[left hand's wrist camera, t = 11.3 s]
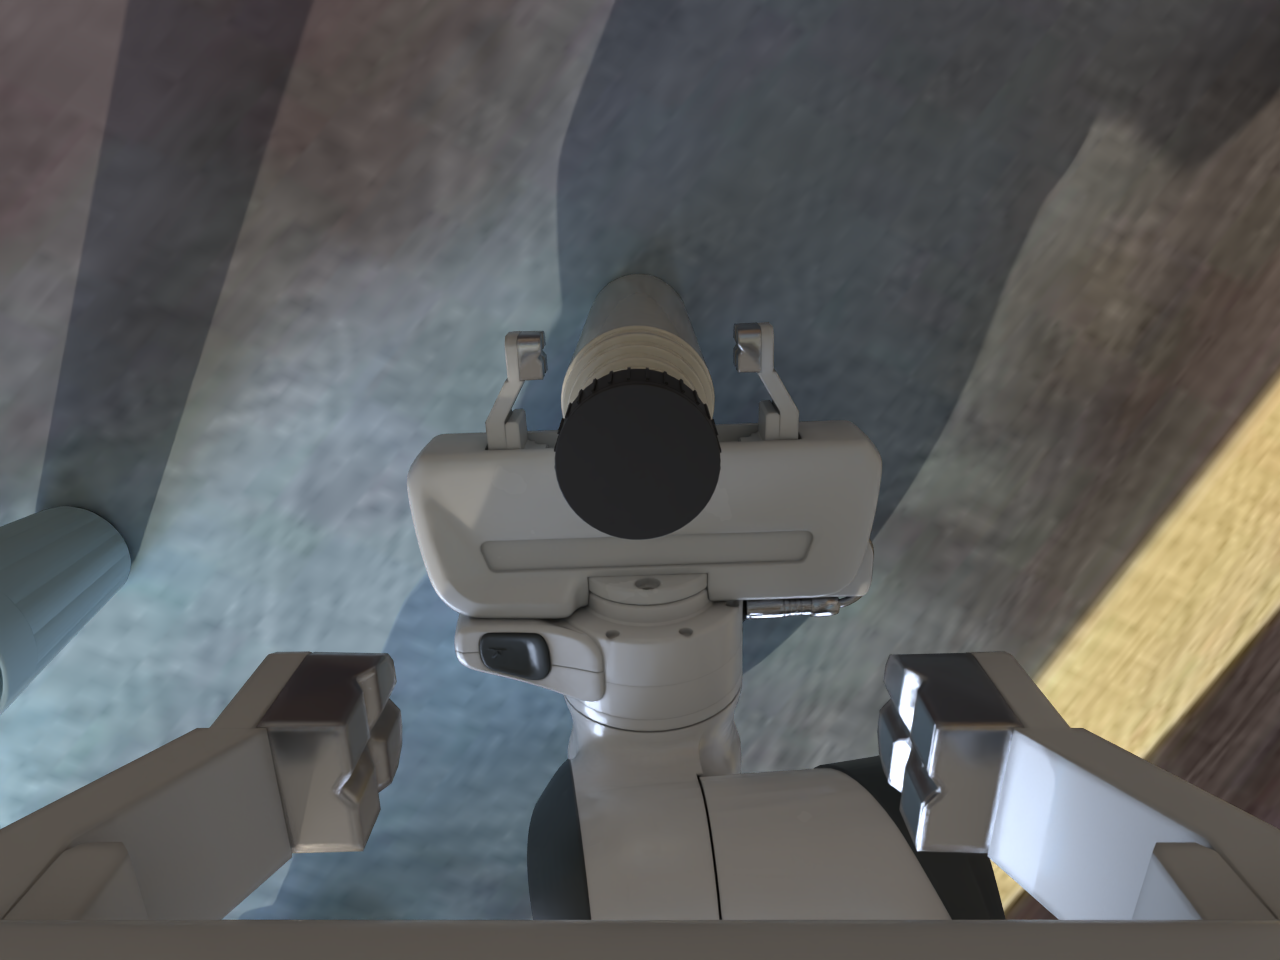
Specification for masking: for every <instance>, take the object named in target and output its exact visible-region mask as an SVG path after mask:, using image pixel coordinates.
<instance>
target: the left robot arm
mask: <svg viewBox="0 0 1280 960" xmlns="http://www.w3.org/2000/svg"><path fill="white" fill-rule="evenodd" d="M396 682H397V680H396V674H395V668H394V662H393V659H392V658H391V657H390V656H389V654H388V653H342V652H313V653H312V652H275V653H272V654H269V655H268V656H267V657H266V658H265V659H264V660H263V661H262V663H261V664H260V665H259V666H258V668H257V669H256V670H255V671H254V673H253V674H252V675H251V676H250V678H249V679H248V680H247V682H246V683H245V684H244V685H243V687H242V688H241V689H240V690H239V692H238V693H237V694H236V695H235V697H234V698H233V699H232V700H231V702H230V703H229V704H228V705H227V707H226V708H225V709H224V710H223V712H222V713H221V714H220V715H219V717H218V718H217V719H216V720H215V722H214V723H213V724H212V725H211V727H210V728H196V729H194V730H193V731H191V732H189V733H187V734H185V735H183V736H181V737H179V738H177V739H175V740H173V741H171V742H169V743H167V744H165V745H163V746H161V747H159V748H158V749H156V750H154V751H152V752H150V753H148V754H146V755H144V756H142V757H140V758H138V759H136V760H134V761H132V762H130V763H128V764H126V765H125V766H123V767H121V768H119V769H117V770H115V771H113V772H111V773H109V774H107V775H105V776H103V777H101V778H99V779H97V780H95V781H93V782H91V783H90V784H88V785H86V786H84V787H82V788H80V789H78V790H76V791H74V792H72V793H70V794H68V795H66V796H64V797H62V798H60V799H58V800H57V801H55V802H53V803H51V804H49V805H47V806H45V807H43V808H41V809H39V810H37V811H35V812H33V813H31V814H29V815H27V816H25V817H24V818H22V819H20V820H18V821H16V822H14V823H12V824H10V825H8V826H6V827H4V828H2V829H0V960H1280V830H1279V829H1277V828H1275V827H1273V826H1271V825H1270V824H1268V823H1266V822H1264V821H1262V820H1260V819H1258V818H1256V817H1254V816H1252V815H1250V814H1248V813H1246V812H1244V811H1242V810H1240V809H1239V808H1237V807H1235V806H1233V805H1231V804H1229V803H1227V802H1225V801H1223V800H1221V799H1219V798H1217V797H1215V796H1213V795H1211V794H1209V793H1208V792H1206V791H1204V790H1202V789H1200V788H1198V787H1196V786H1194V785H1192V784H1190V783H1188V782H1186V781H1184V780H1182V779H1180V778H1178V777H1177V776H1175V775H1173V774H1171V773H1169V772H1167V771H1165V770H1163V769H1161V768H1159V767H1157V766H1155V765H1153V764H1151V763H1149V762H1148V761H1146V760H1144V759H1142V758H1140V757H1138V756H1136V755H1134V754H1132V753H1130V752H1128V751H1126V750H1124V749H1122V748H1120V747H1118V746H1117V745H1115V744H1113V743H1111V742H1109V741H1107V740H1105V739H1103V738H1101V737H1099V736H1097V735H1095V734H1093V733H1091V732H1089V731H1087V730H1086V729H1084V728H1070V727H1069V725H1068V724H1067V723H1066V722H1065V720H1064V719H1063V718H1062V717H1061V715H1060V714H1059V713H1058V712H1057V710H1056V709H1055V708H1054V707H1053V705H1052V704H1051V703H1050V702H1049V700H1048V699H1047V698H1046V697H1045V695H1044V694H1043V693H1042V692H1041V690H1040V689H1039V688H1038V687H1037V685H1036V684H1035V683H1034V682H1033V680H1032V679H1031V678H1030V677H1029V675H1028V674H1027V673H1026V672H1025V671H1024V669H1023V668H1022V667H1021V666H1020V664H1019V663H1018V662H1017V661H1016V659H1015V658H1014V657H1013V656H1012V655H1011V654H1009V653H1007V652H1005V651H995V652H967V653H942V654H897V655H889V658H888V660H887V663H886V666H885V673H884V680H883V682H884V684H885V686H886V688H887V691H888V693H889V695H890V697H891V699H890V700H889V701H888V702H887V703H886V704H885V705H884V706H883V707H882V708H881V709H880V711H879V721H878V731H877V732H878V747H879V755H880V759H881V764H882V768H883V771H884V773H885V776H886V778H887V781H888V783H889V784H890V785H892V786H893V787H894V788H896V789H897V790H898V791H900V792H901V793H902V794H901V801H900V808H899V810H900V812H901V815H902V817H903V819H904V822H905V824H906V826H907V829H908V831H909V833H910V836H911V838H912V841H913V843H914V845H915V848H916V850H917V851H930V852H965V853H988V857H989V858H990V859H991V860H992V861H993V862H994V863H996V864H997V865H998V866H999V867H1000V868H1001V869H1002V870H1003V871H1005V872H1006V873H1007V874H1008V875H1009V876H1010V877H1011V878H1012V879H1014V880H1015V881H1016V882H1017V883H1018V884H1019V885H1020V886H1022V887H1023V888H1024V889H1025V890H1026V891H1027V892H1028V893H1029V894H1031V895H1032V896H1033V897H1034V898H1035V899H1036V900H1037V901H1039V902H1040V903H1041V904H1042V905H1043V906H1044V907H1045V908H1046V909H1048V910H1049V911H1050V912H1051V913H1052V914H1053V915H1054V916H1055V917H1057V918H1058V919H1059V920H221V919H223V918H224V917H225V916H226V915H227V914H228V913H229V912H230V911H232V910H233V909H234V908H235V907H236V906H237V905H238V904H240V903H241V902H242V901H243V900H244V899H245V898H246V897H247V896H249V895H250V894H251V893H252V892H253V891H254V890H255V889H257V888H258V887H259V886H260V885H261V884H262V883H263V882H264V881H266V880H267V879H268V878H269V877H270V876H271V875H272V874H274V873H275V872H276V871H277V870H278V869H279V868H280V867H281V866H283V865H284V864H285V863H286V862H287V861H288V860H289V859H291V858H292V853H314V852H349V851H363V850H364V848H365V845H366V843H367V841H368V838H369V836H370V834H371V831H372V829H373V826H374V824H375V822H376V819H377V817H378V815H379V812H380V810H381V808H380V801H379V794H378V793H379V792H380V791H382V790H383V789H384V788H386V787H387V786H388V785H390V784H391V783H392V781H393V778H394V776H395V773H396V770H397V768H398V764H399V758H400V753H401V747H402V719H401V711H400V709H399V708H398V707H397V706H396V705H395V704H394V703H393V702H392V701H391V700H390V699H389V697H390V695H391V693H392V691H393V688H394V686H395V684H396Z"/></svg>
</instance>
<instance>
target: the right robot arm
mask: <svg viewBox="0 0 1280 960" xmlns="http://www.w3.org/2000/svg"><path fill="white" fill-rule="evenodd" d="M733 338H734V340H735V341H736V345H735V346H734V348H733V363H734V366H735V367H736V370H737V371H738V372H757V373H758V375H759V377H760V379H761V380H762V382H763V384H764V385H765V387H766V389H767V391H768V392H769V394H770V396H771V398H772V402H771V401H770V400H762V401H760V402H759V418H758V423H744V424H715V425H716V429H717V432H718V435H717V437H718V441H719V444H720V447H721V453H720V459H721V464H720V466H721V470H720V474H719V479H718V483H717V486H716V489H715V491H714V493H713V495H712V497H711V499H710V501H709V502H708V504H707V505H706V507H705V508H704V509H703V510H702V511H701V513H700V514H699V515H698V516H697V517H696V518H694V519H693V520H692V521H691V522H690V523H688V524H687V525H685V526H684V527H682V528H681V529H679V530H677V531H675V532H673V533H670V534H668V535H665V536H662V537H658V538H653V539H645V540H630V539H622V538H618V537H614V536H610V535H608V534H605V533H603V532H600V531H598V530H597V529H595V528H593V527H591V526H590V525H588V524H587V523H586V522H584V521H583V520H582V519H581V518H580V517H579V516H578V515H576V513H575V512H574V511H573V510H572V509H571V508H570V506H569V505H568V503H567V502H566V500H565V499H564V497H563V495H562V492H561V490H560V488H559V485H558V482H557V478H556V472H555V468H554V466H555V452H554V447H555V444H556V441H557V438H558V435H559V434H557V433H558V430H543V431H527V424H526V414H525V411H524V410H523V409H514V410H513V411H512V407H513V405H514V403H515V401H516V398H517V396H518V394H519V392H520V390H521V388H522V386H523V384H524V382H525V380H540V379H543V378H544V376H545V373H546V372H547V370H548V368H547V355H546V354H545V352H544V351H543V348H544V347H545V345H546V342H545V334H544V331H514V332H509V333H508V334H507V335H506V336H505V355H506V366H507V376H508V378H507V379H506V381H505V383H504V385H503V387H502V389H501V391H500V393H499V395H498V397H497V399H496V401H495V404H494V406H493V408H492V410H491V412H490V414H489V416H488V418H487V420H486V422H485V423H486V433H458V434H441V435H437V436H436V437H434V438H433V439H432V440H431V441H430V442H429V443H428V444H427V445H426V446H425V447H424V448H423V449H422V450H421V452H420V453H419V454H418V456H417V457H416V459H415V460H414V462H413V463H412V465H411V467H410V469H409V472H408V476H407V489H408V497H409V503H410V509H411V514H412V518H413V523H414V527H415V532H416V536H417V540H418V543H419V547H420V551H421V554H422V557H423V561H424V564H425V567H426V570H427V573H428V576H429V579H430V581H431V583H432V586H433V587H434V589H435V591H436V593H437V594H438V596H439V597H440V598H441V600H442V601H443V602H444V603H445V604H446V605H447V606H449V607H450V608H451V609H453V610H454V611H456V612H458V613H460V614H459V618H458V621H457V626H456V632H455V652H456V656H457V658H458V660H459V661H460V663H461V664H463V665H464V666H466V667H468V668H470V669H473V670H476V671H480V672H484V673H489V674H493V675H497V676H502V677H506V678H510V679H514V680H518V681H522V682H525V683H529V684H532V685H536V686H539V687H543V688H546V689H549V690H552V691H555V692H558V693H561V694H563V695H564V698H565V701H566V703H567V706H568V708H569V710H570V713H571V716H572V719H573V728H572V731H571V735H570V739H569V744H568V759H567V760H566V761H565V762H564V763H563V764H562V765H561V767H560V768H559V769H558V770H557V772H556V773H555V774H554V776H553V777H552V779H551V780H550V782H549V784H548V785H547V787H546V788H545V790H544V792H543V793H542V795H541V796H540V798H539V800H538V801H537V803H536V805H535V807H534V810H533V814H532V817H531V822H530V827H529V834H528V847H527V867H528V883H529V893H530V901H531V909H532V916H533V920H1006V919H1005V915H1004V911H1003V907H1002V903H1001V899H1000V895H999V891H998V887H997V883H996V880H995V876H994V872H993V869H992V865H991V862H990V858H989V857H988V853H965V852H930V851H917V850H916V848H915V845H914V843H913V841H912V838H911V836H910V833H909V831H908V829H907V826H906V824H905V822H904V819H903V817H902V815H901V812H900V810H899V808H900V801H901V794H902V793H901V792H900V791H898V790H897V789H896V788H894V787H893V786H892V785H890V784H889V783H888V781H887V778H886V776H885V773H884V771H883V768H882V764H881V759H880V756H874V757H868V758H862V759H856V760H850V761H844V762H837V763H831V764H825V765H819V766H817V767H815V768H814V769H801V770H787V771H772V772H758V773H744V774H741V743H740V738H739V734H738V731H737V728H736V725H735V722H734V710H735V708H736V705H737V703H738V700H739V697H740V693H741V687H742V659H743V624H742V623H743V621H744V620H745V619H771V618H783V617H788V616H794V615H795V616H797V615H810V616H811V617H826V616H832V615H836V614H838V613H839V608H841V607H845V606H848V605H850V604H852V603H854V602H856V601H857V600H859V599H860V598H861V597H862V596H863V595H865V594H866V593H867V592H868V590H869V588H870V585H871V581H872V571H873V559H874V549H873V544H872V542H871V540H870V538H869V537H870V534H871V530H872V525H873V521H874V517H875V512H876V507H877V501H878V496H879V490H880V483H881V475H882V459H881V456H880V453H879V451H878V450H877V448H876V446H875V445H874V444H873V442H872V441H871V440H870V439H869V438H868V436H867V435H866V434H865V433H864V432H862V431H861V430H860V429H859V428H858V427H857V426H856V425H855V424H854V423H852V422H850V421H847V420H831V421H802V422H799V411H798V409H797V407H796V406H795V404H794V402H793V400H792V398H791V397H790V395H789V393H788V391H787V390H786V388H785V386H784V384H783V383H782V381H781V379H780V377H779V376H778V374H777V372H776V371H775V369H774V368H773V362H774V331H773V326H772V325H771V324H770V323H769V322H761V323H739V324H734V330H733ZM838 597H844V598H841V599H839V598H838Z"/></svg>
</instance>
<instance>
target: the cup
mask: <svg viewBox="0 0 1280 960" xmlns="http://www.w3.org/2000/svg"><path fill="white" fill-rule="evenodd" d="M130 567H131V558H130V554H129V550H128V547H127V545H126V543H125V541H124V539H123V538H122V536H121V535H120V533H119V532H118V531H117V530H116V529H115V528H114V527H113V526H112V525H111V524H110V523H109V522H108V521H106V520H105V519H103V518H102V517H100V516H98V515H97V514H95V513H93V512H90V511H88V510H85V509H81V508H76V507H70V506H60V507H56V508H51V509H47V510H43V511H41V512H38V513H35V514H32V515H30V516H27V517H25V518H22V519H19V520H17V521H14V522H12V523H9V524H6V525H4V526H1V527H0V715H1V714H2V713H3V712H4V711H5V710H6V709H7V708H8V707H9V706H10V705H11V704H12V703H13V702H14V701H15V700H16V698H17V697H18V696H19V695H20V694H21V693H22V692H23V691H24V690H25V689H26V688H27V687H28V685H29V684H30V683H31V682H32V681H33V680H34V678H35V677H36V676H37V675H38V674H39V673H40V672H41V671H42V670H43V669H44V668H45V667H46V666H47V665H48V664H49V663H50V662H51V661H52V660H53V659H54V658H55V657H56V655H57V654H58V653H59V652H60V651H61V650H62V649H63V648H64V647H65V646H66V645H67V644H68V643H69V642H70V641H71V640H72V639H73V638H74V637H75V636H76V635H77V634H78V632H79V631H80V630H81V629H82V628H83V627H84V626H85V625H86V624H87V623H88V622H89V621H90V620H91V619H92V618H93V617H94V616H95V615H96V614H97V613H98V612H99V611H100V609H101V608H102V607H103V606H104V605H105V604H106V603H107V602H108V601H109V600H110V599H111V598H112V597H113V596H114V595H115V594H116V593H117V592H118V590H119V589H120V588H121V587H122V586H123V585H124V584H125V582H126V581H127V579H128V576H129V572H130Z"/></svg>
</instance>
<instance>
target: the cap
mask: <svg viewBox="0 0 1280 960" xmlns="http://www.w3.org/2000/svg"><path fill="white" fill-rule="evenodd" d="M557 434H559V435H558V438H557V441H556V444H555V447H554V452H555V466H554V468H555V472H556V478H557V482H558V485H559V488H560V490H561V492H562V495H563V497H564V499H565V500H566V502H567V503H568V505H569V506H570V508H571V509H572V510H573V511H574V512H575V513H576V515H578V516H579V517H580V518H581V519H582V520H583V521H584V522H586V523H587V524H588V525H590V526H591V527H593V528H595V529H597V530H598V531H600V532H603V533H605V534H608V535H610V536H614V537H618V538H622V539H630V540H645V539H653V538H658V537H662V536H665V535H668V534H670V533H673V532H675V531H677V530H679V529H681V528H682V527H684V526H685V525H687V524H688V523H690V522H691V521H692V520H693V519H694V518H696V517H697V516H698V515H699V514H700V513H701V511H702V510H703V509H704V508H705V507H706V505H707V504H708V502H709V501H710V499H711V497H712V495H713V493H714V491H715V489H716V486H717V483H718V479H719V474H720V470H721V466H720V464H721V459H720V453H721V447H720V444H719V441H718V437H717V435H718V432H717V429H716V425H715V422H714V419H711V416H710V413H709V410H708V406H707V404H706V403H705V404H703V402H702V401H701V400H700V398H699V397H698V394H697V391H696V390H694V391H693V390H692V389H691V388H689V387H688V386H687V385H685V384H684V382H683V380H682V379H680V380H678V379H676V378H675V377H672V376H670V375H668V374H667V372H666V371H664V372H663V373H662V372H659V371H655V370H649V367H646V369H631V367H627V369H626V370H621V371H617V372H613V371H610V372H609V374H608V375H605V376H603V377H601V378H599V379H596V378H595V379H593V383H591V384H590V385H589V386H587V387H586V388H585V389H584V390H582V389H581V390H580V391H579V394H578V396H577V397H576V399H575V400H574V401H573V403H569V405H568V408H567V411H566V414H565V419H564V418H562V420H561V423H560V426H559V430H558V433H557Z"/></svg>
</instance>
